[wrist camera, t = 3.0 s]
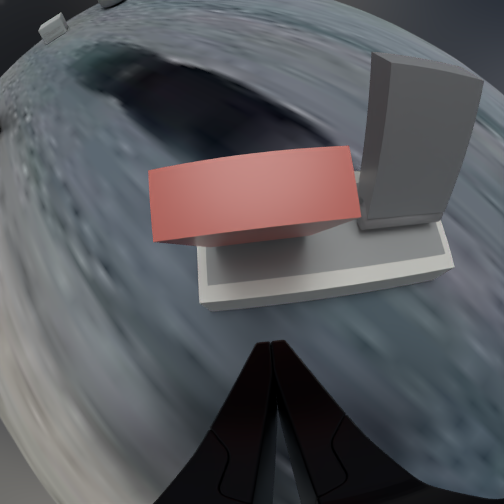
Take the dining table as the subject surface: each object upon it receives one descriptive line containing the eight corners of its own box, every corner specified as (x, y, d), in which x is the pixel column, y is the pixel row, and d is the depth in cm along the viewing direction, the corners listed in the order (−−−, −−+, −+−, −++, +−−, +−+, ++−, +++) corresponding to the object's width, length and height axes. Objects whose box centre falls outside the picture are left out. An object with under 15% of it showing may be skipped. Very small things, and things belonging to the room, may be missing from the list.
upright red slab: (306, 236, 16) (361, 217, 7) (214, 247, 16) (153, 242, 7) (301, 204, 16) (349, 146, 7) (211, 215, 16) (148, 170, 7)
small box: (68, 26, 42) (61, 11, 37) (67, 32, 40) (59, 16, 35) (48, 38, 41) (40, 24, 36) (46, 45, 39) (37, 31, 35)
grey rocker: (437, 228, 15) (483, 80, 8) (363, 236, 15) (391, 62, 8) (424, 207, 16) (460, 67, 9) (353, 214, 16) (371, 52, 9)
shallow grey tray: (432, 280, 18) (454, 266, 15) (211, 311, 18) (199, 303, 15) (406, 191, 20) (421, 168, 17) (206, 211, 20) (195, 187, 18)
